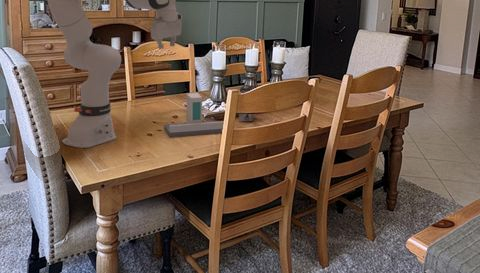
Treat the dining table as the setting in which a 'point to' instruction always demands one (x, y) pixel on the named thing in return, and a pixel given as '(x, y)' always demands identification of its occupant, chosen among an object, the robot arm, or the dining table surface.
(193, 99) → the carton
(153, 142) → the dining table surface
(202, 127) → the shelf
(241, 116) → the coffee box
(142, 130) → the dining table surface
